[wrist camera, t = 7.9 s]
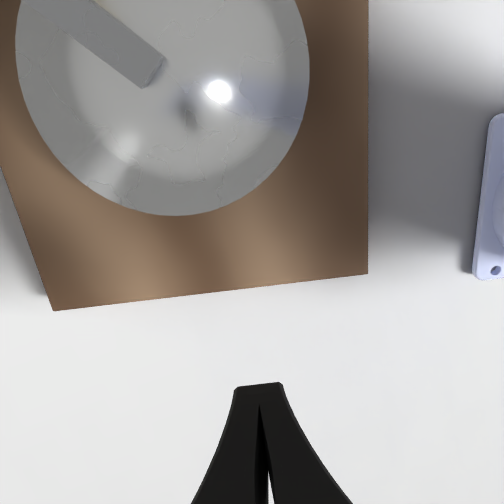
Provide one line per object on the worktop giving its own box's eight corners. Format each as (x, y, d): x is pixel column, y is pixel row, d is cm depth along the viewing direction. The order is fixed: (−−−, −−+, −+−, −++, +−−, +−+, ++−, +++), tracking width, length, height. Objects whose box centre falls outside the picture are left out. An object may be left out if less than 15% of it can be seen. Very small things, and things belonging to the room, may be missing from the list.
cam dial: (358, 50, 16) (413, 49, 11) (204, 247, 19) (194, 313, 14) (-27, -308, 12) (-209, -562, 7) (-144, 18, 15) (-328, 1, 10)
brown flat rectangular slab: (357, -281, 13) (375, -327, 12) (360, 262, 21) (371, 280, 20) (-118, -220, 14) (-165, -257, 12) (62, 298, 22) (48, 318, 20)
